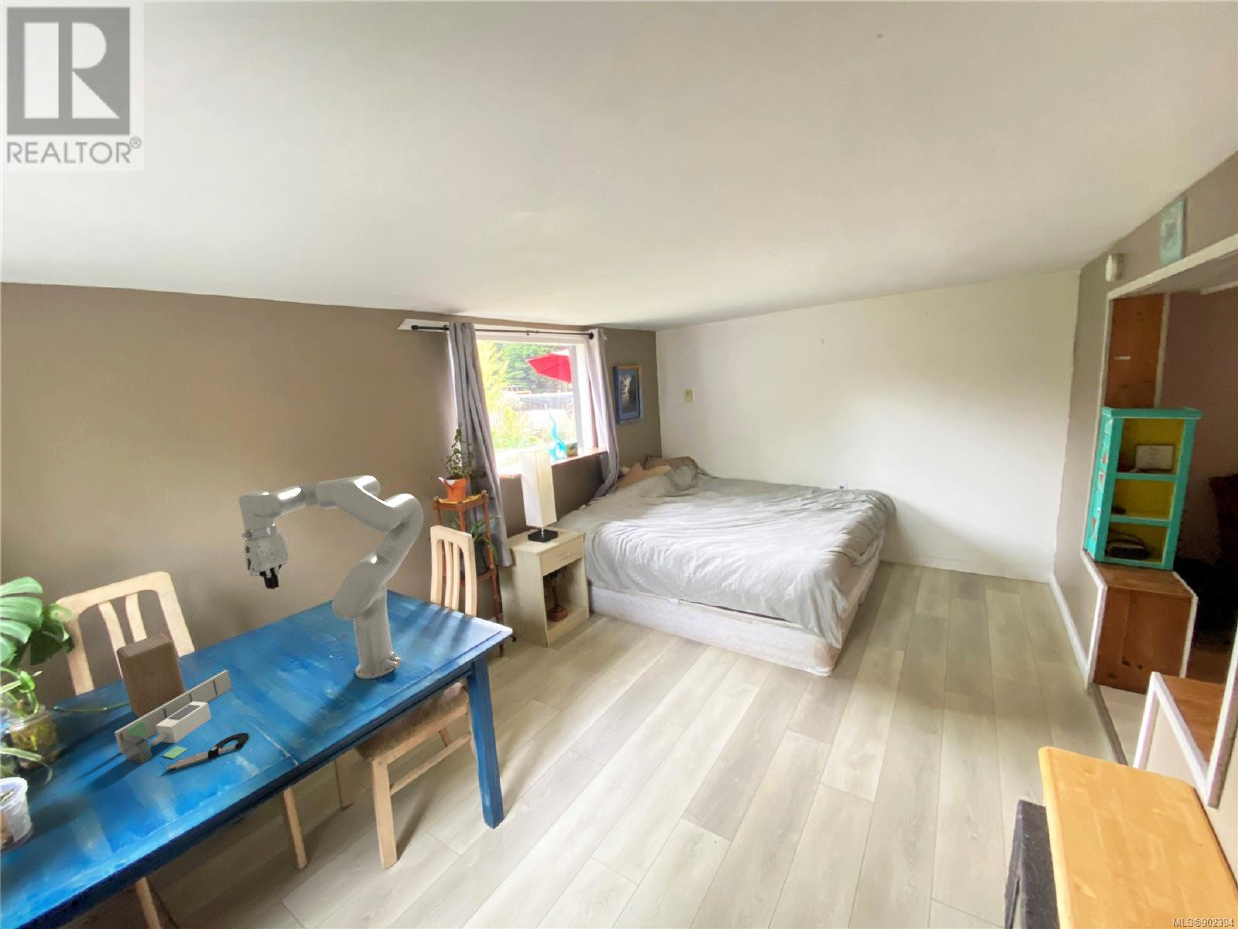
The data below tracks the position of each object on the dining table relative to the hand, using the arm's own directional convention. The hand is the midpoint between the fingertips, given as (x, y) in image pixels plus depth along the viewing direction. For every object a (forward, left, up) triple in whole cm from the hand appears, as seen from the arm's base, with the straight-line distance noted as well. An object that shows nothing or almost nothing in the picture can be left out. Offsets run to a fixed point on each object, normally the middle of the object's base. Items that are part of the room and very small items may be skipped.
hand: (272, 587), depth 141 cm
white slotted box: (+3, +28, -29) cm, 40 cm away
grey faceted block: (+3, +36, -29) cm, 47 cm away
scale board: (+10, +24, -29) cm, 39 cm away
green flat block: (-4, +33, -29) cm, 44 cm away
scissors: (-13, +30, -30) cm, 44 cm away
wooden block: (+22, +22, -29) cm, 43 cm away
